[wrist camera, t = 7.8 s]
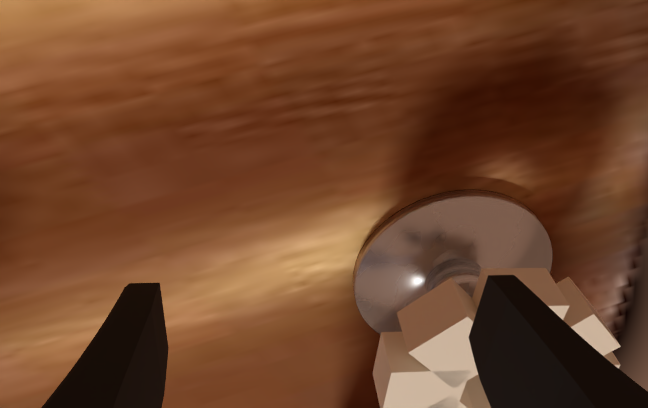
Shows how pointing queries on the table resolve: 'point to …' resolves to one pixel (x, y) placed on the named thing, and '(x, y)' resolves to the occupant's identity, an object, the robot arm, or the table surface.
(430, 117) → the table surface
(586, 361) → the robot arm
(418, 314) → the wheel
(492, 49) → the table surface
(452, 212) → the axle mount
